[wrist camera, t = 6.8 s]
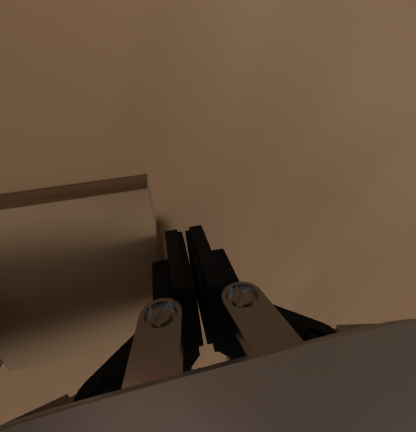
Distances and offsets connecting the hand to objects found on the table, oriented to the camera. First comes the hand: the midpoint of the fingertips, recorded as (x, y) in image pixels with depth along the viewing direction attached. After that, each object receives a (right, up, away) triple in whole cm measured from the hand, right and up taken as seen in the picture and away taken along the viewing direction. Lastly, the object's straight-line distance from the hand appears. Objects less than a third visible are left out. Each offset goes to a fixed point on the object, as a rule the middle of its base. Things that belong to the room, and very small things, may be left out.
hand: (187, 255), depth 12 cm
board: (-5, 0, +1) cm, 6 cm away
